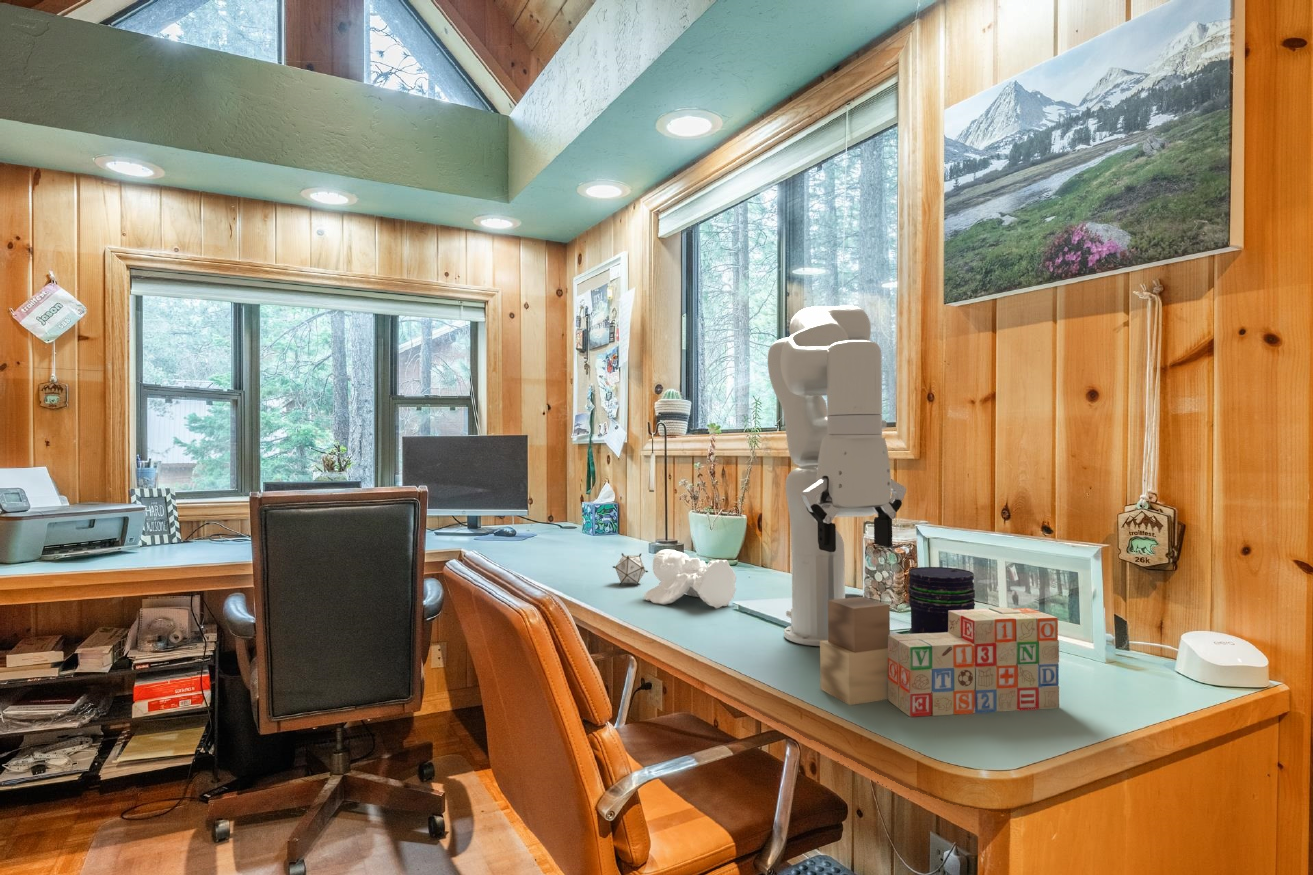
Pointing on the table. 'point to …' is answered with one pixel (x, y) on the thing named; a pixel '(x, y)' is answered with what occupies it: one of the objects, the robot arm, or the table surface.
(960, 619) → the stack of blocks
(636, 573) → the game die
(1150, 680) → the table surface
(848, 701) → the oak block
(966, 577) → the storage jar
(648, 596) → the cherub figurine
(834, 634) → the walnut cube
